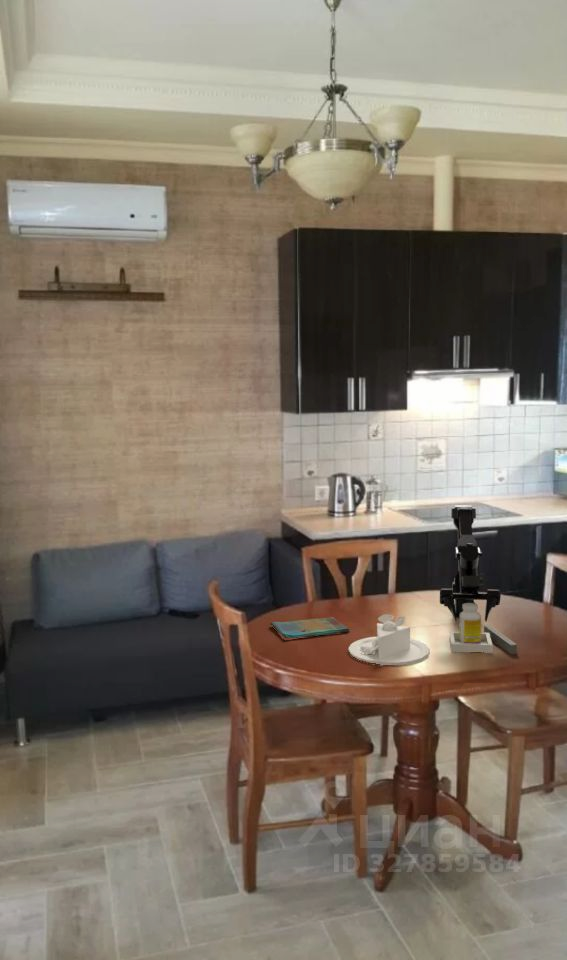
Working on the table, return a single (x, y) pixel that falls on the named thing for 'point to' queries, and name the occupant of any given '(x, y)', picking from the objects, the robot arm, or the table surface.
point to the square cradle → (471, 644)
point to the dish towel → (310, 627)
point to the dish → (390, 645)
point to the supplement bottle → (470, 624)
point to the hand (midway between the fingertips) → (470, 620)
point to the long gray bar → (501, 640)
